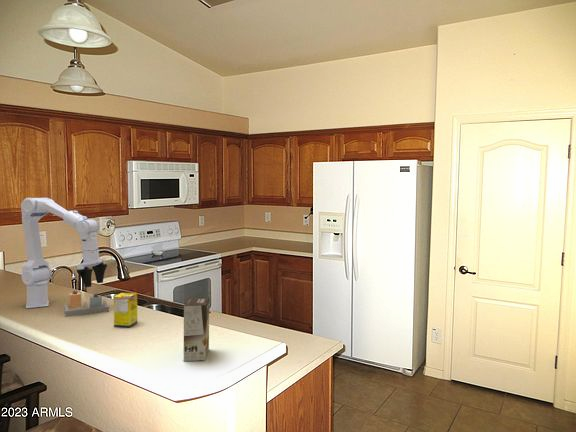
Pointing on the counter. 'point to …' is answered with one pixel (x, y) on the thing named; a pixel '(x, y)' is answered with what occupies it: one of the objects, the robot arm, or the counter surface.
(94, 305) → the seated plug
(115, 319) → the supplement box
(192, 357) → the coffee box
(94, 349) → the counter surface
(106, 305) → the e-shaped shelf rack
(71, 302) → the orange plug
